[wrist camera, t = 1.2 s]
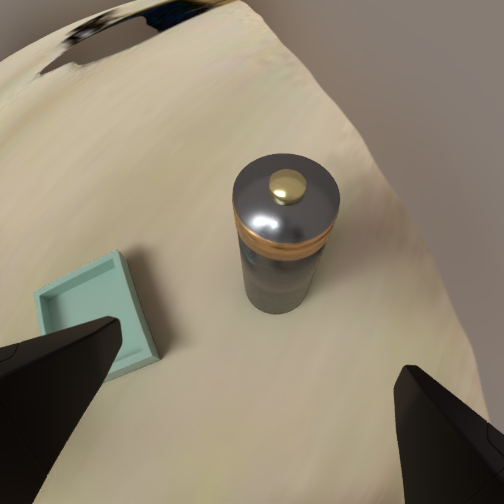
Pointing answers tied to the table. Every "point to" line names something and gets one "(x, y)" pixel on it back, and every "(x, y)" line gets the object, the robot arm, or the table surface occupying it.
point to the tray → (100, 308)
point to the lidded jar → (282, 227)
